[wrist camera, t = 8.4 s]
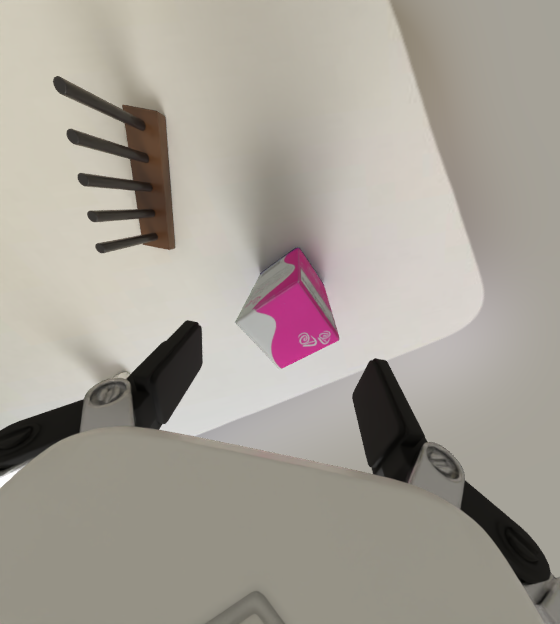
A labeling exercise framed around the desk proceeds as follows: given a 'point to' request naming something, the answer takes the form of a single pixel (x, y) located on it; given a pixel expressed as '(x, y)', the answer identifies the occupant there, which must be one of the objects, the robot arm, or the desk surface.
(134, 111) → the rack
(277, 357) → the supplement box
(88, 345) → the desk surface
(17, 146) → the desk surface
